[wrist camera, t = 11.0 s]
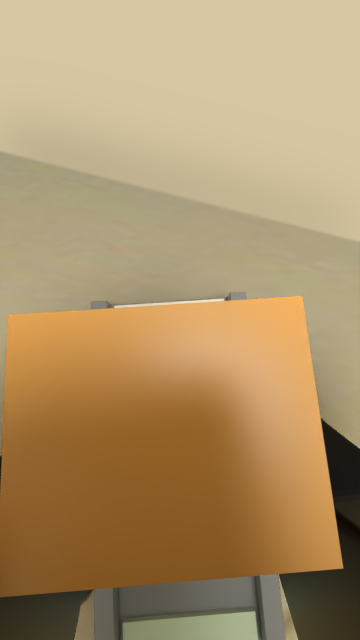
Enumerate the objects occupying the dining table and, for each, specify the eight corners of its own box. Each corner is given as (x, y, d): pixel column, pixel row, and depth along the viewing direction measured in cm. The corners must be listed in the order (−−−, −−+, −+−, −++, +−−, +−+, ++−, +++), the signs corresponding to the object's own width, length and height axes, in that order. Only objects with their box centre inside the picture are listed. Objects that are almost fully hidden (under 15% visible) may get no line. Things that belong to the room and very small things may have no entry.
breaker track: (307, 595, 14) (343, 659, 11) (68, 615, 14) (38, 686, 11) (269, 302, 16) (289, 289, 13) (69, 315, 16) (45, 304, 13)
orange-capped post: (227, 430, 13) (377, 631, 3) (127, 437, 13) (-33, 668, 3) (218, 331, 14) (313, 251, 4) (124, 337, 14) (-10, 271, 4)
